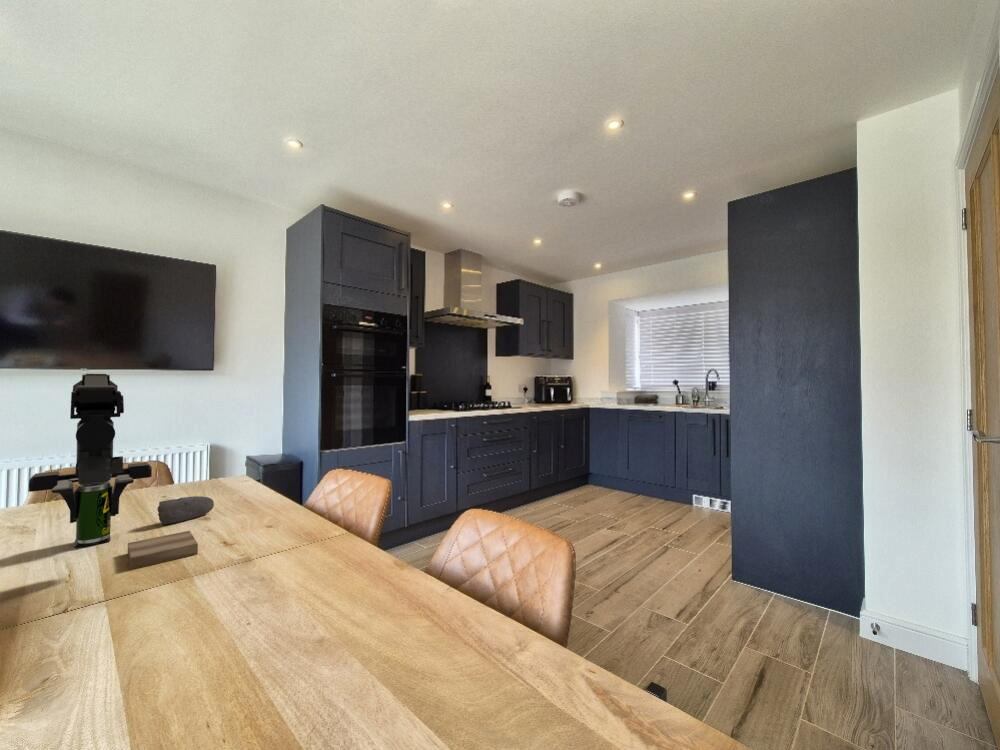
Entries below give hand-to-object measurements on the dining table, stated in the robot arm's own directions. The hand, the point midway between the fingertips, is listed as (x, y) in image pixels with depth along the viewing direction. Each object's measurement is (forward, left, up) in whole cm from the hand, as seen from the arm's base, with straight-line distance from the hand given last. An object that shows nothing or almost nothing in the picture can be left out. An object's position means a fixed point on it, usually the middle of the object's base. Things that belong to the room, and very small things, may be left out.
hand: (94, 515), depth 90 cm
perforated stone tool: (-29, +20, -13) cm, 37 cm away
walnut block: (-2, +12, -12) cm, 17 cm away
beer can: (0, 0, -5) cm, 5 cm away
